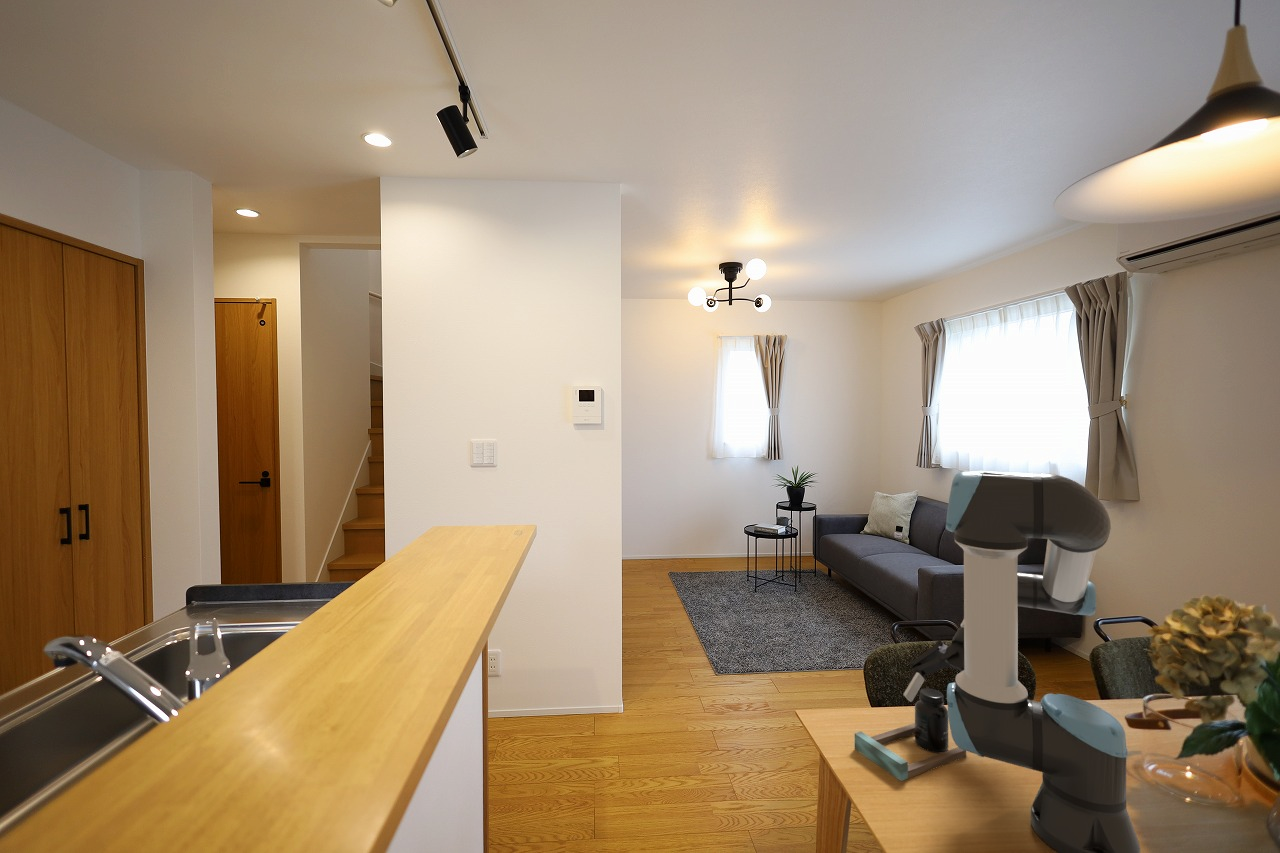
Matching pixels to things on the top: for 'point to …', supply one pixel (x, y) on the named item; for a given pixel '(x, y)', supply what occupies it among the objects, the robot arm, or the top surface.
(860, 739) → the channel
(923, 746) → the supplement bottle
